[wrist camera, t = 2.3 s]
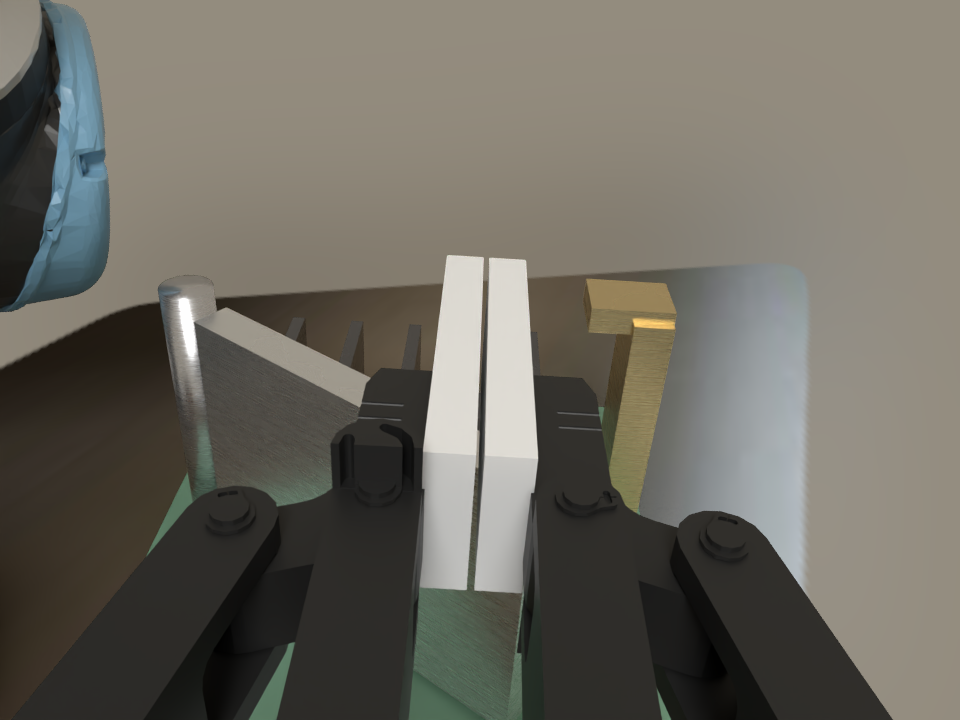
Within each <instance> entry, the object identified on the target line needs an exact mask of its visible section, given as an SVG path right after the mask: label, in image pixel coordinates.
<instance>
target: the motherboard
mask: <svg viewBox="0 0 960 720" xmlns="http://www.w3.org/2000/svg"><path fill="white" fill-rule="evenodd" d="M598 409H599V417H600V420H601V424H602V419H603V413H604V407H598ZM191 503H192V497H191V490H190V484H189V478H188V472H187V474H186V476H185V478H184V480H183V482H182V484H181V486H180V488H179V490H178V492H177V494H176V496H175V498H174V501H173V503H172V505H171V507H170V509H169V511H168V513H167V515H166V517H165V519H164V521H163V523H162V525H161V527H160V529H159V531H158V533H157V535H156V537H155V539H154V541H153V543H152V545H151V548H150V550H149V552H148V554H149V553H150V551H151V550H152V549H153V548H154V547H155V545H156V544H157V543H158V542H159V541H160V539H161V538H162V537H163V536H164V535H165V533H166V532H167V531H168V530H169V528H170V527H171V526H172V525H173V524H174V522H175V521H176V520H177V519H178V518H179V516H180V515H181V514H182V513H183V512H184V510H185V509H186V508H187V507H188V506H189V505H190V504H191ZM637 514H639V515H640V512H639V507H638V510H637ZM148 554H147V555H148ZM294 644H295V642H294V643H289V644H288V647H287V651H286V653H285V655H284V657H283V659H282V661H281V662H280V664H279V666H278V668H277V670H276V671H275V673H274V675H273V677H272V679H271V680H270V682H269V684H268V686H267V688H266V689H265V691H264V693H263V695H262V697H261V698H260V700H259V702H258V704H257V706H256V707H255V709H254V711H253V713H252V715H251V716H250V718H249V720H276V719H277V715H278V711H279V707H280V702H281V698H282V694H283V690H284V686H285V682H286V678H287V673H288V669H289V665H290V661H291V657H292V653H293V649H294ZM657 692H658V689H657ZM658 698H659V704H660V710H661V716H662V720H671V718H670V716H669V714H668V712H667V710H666V707H665V705H664V703H663V701H662V698H661V696H660V694H659V692H658ZM409 720H485V719H484V718H483V717H481V716H480V715H478V714H477V713H475V712H474V711H472V710H471V709H469V708H468V707H467V706H465V705H464V704H462V703H461V702H459V701H458V700H456V699H455V698H453V697H452V696H451V695H449V694H448V693H446V692H445V691H443V690H442V689H440V688H439V687H437V686H436V685H435V684H433V683H432V682H430V681H429V680H427V679H426V678H424V677H423V676H421V675H420V674H419V673H417V672H416V671H414V670H413V678H412V689H411V700H410V711H409ZM516 720H522V712H521V714H520V715H519V716H518V717H517V719H516Z"/></svg>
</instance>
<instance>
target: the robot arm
mask: <svg viewBox="0 0 960 720" xmlns="http://www.w3.org/2000/svg"><path fill="white" fill-rule="evenodd" d="M104 159H105V129H104V119H103V112H102V102H101V95H100V87H99V81H98V74H97V68H96V63H95V57H94V52H93V48H92V44H91V40H90V35H89V32H88V29H87V26H86V23H85V21H84V19H83V17H82V16H81V15H80V14H79V13H78V12H77V11H76V10H75V9H74V8H71V7H69V6H67V5H63V4H57V3H53V2H51V1H50V0H0V312H9V311H10V312H12V311H14V310H18V309H19V308H21V307H23V306H25V305H26V304H30V303H36V302H41V301H47V300H53V299H58V298H64V297H69V296H74V295H77V294H80V293H82V292H84V291H86V290H87V289H89V288H91V287H92V286H93V285H94V284H95V283H96V282H97V281H98V279H99V278H100V277H101V275H102V273H103V271H104V269H105V266H106V263H107V258H108V251H109V239H110V203H109V202H110V199H109V184H108V174H107V169H106V166H105V163H104ZM483 261H484V258H483V257H469V256H453V255H447V261H446V270H445V277H444V285H443V293H442V301H441V309H440V317H439V325H438V333H437V342H436V350H435V358H434V366H433V371H423V370H406V369H390V368H381V369H380V370H379V371H378V372H377V373H376V374H375V375H374V376H373V377H372V378H371V379H370V380H369V381H368V382H367V383H366V385H365V389H364V393H363V398H362V404H361V406H360V410H359V414H358V419H357V422H355V423H352V424H349V425H347V426H346V427H344V428H343V429H341V430H340V431H338V432H337V433H336V435H335V436H334V438H333V440H332V441H331V443H330V448H331V470H332V489H330V490H329V491H327V492H326V493H325V494H323V495H320V496H318V497H316V498H314V499H311V500H307V501H303V502H299V503H294V504H288V505H282V506H277V505H276V502H275V501H274V500H273V499H272V498H271V497H270V496H269V495H268V494H267V493H266V492H264V491H261V490H259V489H256V488H254V487H246V486H230V487H224V488H218V489H215V490H213V491H210V492H208V493H206V494H204V495H201V496H200V497H198V498H197V499H196V500H195V501H194V502H192V503H191V504H190V505H189V506H188V507H187V508H186V509H185V510H184V512H183V513H182V514H181V515H180V516H179V518H178V519H177V520H176V521H175V522H174V524H173V525H172V526H171V527H170V528H169V530H168V531H167V532H166V533H165V535H164V536H163V537H162V538H161V539H160V541H159V542H158V543H157V544H156V545H155V547H154V548H153V549H152V550H151V551H150V553H149V554H148V555H147V556H146V557H145V559H144V560H143V561H142V562H141V564H140V565H139V566H138V567H137V568H136V570H135V571H134V572H133V573H132V574H131V576H130V577H129V578H128V579H127V580H126V582H125V583H124V584H123V585H122V586H121V588H120V589H119V590H118V591H117V593H116V594H115V595H114V596H113V597H112V599H111V600H110V601H109V602H108V603H107V605H106V606H105V607H104V608H103V609H102V611H101V612H100V613H99V614H98V615H97V617H96V618H95V619H94V620H93V622H92V623H91V624H90V625H89V626H88V628H87V629H86V630H85V631H84V632H83V634H82V635H81V636H80V637H79V638H78V640H77V641H76V642H75V643H74V644H73V646H72V647H71V648H70V649H69V651H68V652H67V653H66V654H65V655H64V657H63V658H62V659H61V660H60V661H59V663H58V664H57V665H56V666H55V667H54V669H53V670H52V671H51V672H50V673H49V675H48V676H47V677H46V678H45V680H44V681H43V682H42V683H41V684H40V686H39V687H38V688H37V689H36V690H35V692H34V693H33V694H32V695H31V696H30V698H29V699H28V700H27V701H26V702H25V704H24V705H23V706H22V707H21V709H20V710H19V711H18V712H17V713H16V715H15V716H14V717H13V718H12V719H11V720H249V718H250V716H251V715H252V713H253V711H254V709H255V707H256V706H257V704H258V702H259V700H260V698H261V697H262V695H263V693H264V691H265V689H266V688H267V686H268V684H269V682H270V680H271V679H272V677H273V675H274V673H275V671H276V670H277V668H278V666H279V664H280V662H281V661H282V659H283V657H284V655H285V653H286V651H287V647H288V644H289V643H294V642H295V644H294V649H293V653H292V657H291V661H290V665H289V669H288V673H287V678H286V682H285V686H284V690H283V694H282V698H281V702H280V707H279V711H278V715H277V719H276V720H409V711H410V700H411V689H412V678H413V667H414V656H415V645H416V635H417V624H418V608H419V587H420V588H438V589H456V590H467V577H468V563H469V549H470V535H471V521H472V507H473V493H474V479H475V465H476V448H477V421H478V395H479V368H480V341H481V314H482V288H483ZM522 587H524V598H523V606H522V614H521V623H520V631H519V639H518V647H517V653H521V666H522V720H662V716H661V710H660V704H659V698H658V692H659V694H660V696H661V698H662V701H663V703H664V705H665V707H666V710H667V712H668V714H669V716H670V718H671V720H893V719H892V718H891V717H890V715H889V714H888V712H887V711H886V709H885V708H884V706H883V705H882V704H881V702H880V701H879V699H878V698H877V696H876V695H875V693H874V692H873V691H872V689H871V688H870V686H869V685H868V683H867V682H866V680H865V679H864V678H863V676H862V675H861V673H860V672H859V671H858V669H857V668H856V666H855V665H854V663H853V662H852V660H851V659H850V658H849V656H848V655H847V653H846V652H845V650H844V649H843V647H842V646H841V645H840V643H839V642H838V640H837V639H836V637H835V636H834V634H833V633H832V632H831V630H830V629H829V627H828V626H827V624H826V623H825V621H824V620H823V619H822V617H821V616H820V614H819V613H818V611H817V610H816V609H815V607H814V606H813V604H812V603H811V601H810V600H809V598H808V597H807V596H806V594H805V593H804V591H803V590H802V588H801V587H800V585H799V584H798V583H797V581H796V580H795V578H794V577H793V575H792V574H791V573H790V571H789V570H788V568H787V567H786V565H785V564H784V562H783V561H782V560H781V558H780V557H779V555H778V554H777V552H776V551H775V549H774V548H773V547H772V545H771V544H770V542H769V541H768V539H767V538H766V537H765V536H764V535H763V534H762V533H761V532H760V531H759V530H758V529H757V528H756V527H755V526H754V525H752V524H751V523H749V522H747V521H745V520H744V519H742V518H740V517H738V516H735V515H731V514H728V513H724V512H721V511H702V512H698V513H695V514H691V515H689V516H688V517H686V518H685V519H684V520H683V521H682V522H681V523H680V524H679V528H677V527H673V526H670V525H666V524H663V523H660V522H656V521H653V520H651V519H648V518H646V517H643V516H641V515H639V514H637V513H636V512H634V511H632V510H631V509H629V508H628V507H627V506H626V505H625V503H624V501H623V499H622V497H621V495H620V492H618V491H617V490H616V489H615V488H614V487H613V486H612V484H611V478H610V472H609V467H608V461H607V455H606V449H605V443H604V438H603V432H602V426H601V420H600V417H599V409H598V403H597V397H596V394H595V393H594V392H593V391H592V389H591V388H590V387H589V386H588V385H587V383H586V382H585V381H584V380H583V379H582V378H571V377H554V376H538V375H533V367H532V351H531V335H530V319H529V303H528V287H527V271H526V260H517V259H500V258H489V272H488V286H487V300H486V314H485V328H484V342H483V356H482V372H481V402H480V432H479V462H478V492H477V522H476V552H475V582H474V591H491V592H509V593H522ZM657 689H658V692H657Z"/></svg>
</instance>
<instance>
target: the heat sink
mask: <svg viewBox="0 0 960 720" xmlns="http://www.w3.org/2000/svg"><path fill="white" fill-rule="evenodd" d="M158 293H159V299H160V306H161V312H162V318H163V324H164V330H165V337H166V343H167V349H168V355H169V361H170V367H171V374H172V380H173V386H174V392H175V398H176V404H177V410H178V417H179V423H180V429H181V435H182V441H183V447H184V454H185V460H186V466H187V472H188V478H189V484H190V490H191V497H192V502H194V501H195V500H196V499H197V498H198V497H200V496H201V495H204V494H206V493H208V492H210V491H213V490H215V489H217V483H216V476H215V469H214V461H213V454H212V447H211V440H210V433H209V426H208V419H207V411H206V404H205V397H204V390H203V383H202V376H201V369H200V361H199V354H198V347H197V340H196V333H195V326H194V322H195V321H197V320H199V319H202V318H204V317H206V316H208V315H211V314H213V313H215V312H217V309H216V301H215V294H214V285H213V282H212V281H211V280H210V279H208V278H205V277H202V276H196V275H184V276H178V277H174V278H171V279H168V280H166V281H164V282H163V283H161V284H160V285H159V287H158ZM583 304H584V310H585V315H586V321H587V327H588V332H595V333H612V334H617V336H616V342H615V348H614V353H613V359H612V365H611V371H610V377H609V383H608V389H607V395H606V401H605V407H604V413H603V419H602V424H601V426H602V432H603V438H604V443H605V449H606V455H607V461H608V467H609V472H610V478H611V484H612V486H613V487H614V488H615V489H616V490H617V491H618V492H620V495H621V497H622V499H623V501H624V503H625V505H626V506H627V507H628V508H629V509H631V510H632V511H634V512H636V513H637V510H638V505H639V501H640V496H641V491H642V487H643V482H644V477H645V472H646V468H647V463H648V458H649V453H650V449H651V444H652V439H653V435H654V430H655V425H656V420H657V416H658V411H659V406H660V401H661V397H662V392H663V387H664V383H665V378H666V373H667V368H668V364H669V359H670V354H671V349H672V345H673V340H674V335H675V331H676V329H675V326H674V324H675V320H676V315H677V313H676V310H675V308H674V305H673V302H672V299H671V297H670V294H669V291H668V289H667V286H666V284H662V283H646V282H630V281H614V280H598V279H586V284H585V291H584V298H583ZM530 335H531V351H532V367H533V375H538V376H540V365H539V351H538V338H537V332H530ZM286 337H288V338H290V339H292V340H294V341H296V342H298V343H300V344H302V345H304V346H306V347H307V343H306V326H305V318H297V317H293V319H292V322H291V324H290V326H289V329H288V331H287V333H286ZM420 355H421V325H411V324H410V325H409V331H408V336H407V342H406V347H405V353H404V358H403V363H402V369H406V370H420ZM339 363H341V364H343V365H345V366H347V367H349V368H351V369H354V370H356V371H358V372H360V373H362V374H364V340H363V322H362V321H351V324H350V328H349V331H348V334H347V338H346V341H345V344H344V347H343V351H342V354H341V357H340V361H339ZM480 402H481V393H479V395H478V421H477V430H478V431H480Z"/></svg>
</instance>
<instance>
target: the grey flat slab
mask: <svg viewBox="0 0 960 720" xmlns="http://www.w3.org/2000/svg"><path fill="white" fill-rule="evenodd" d="M194 326H195V333H196V340H197V347H198V354H199V361H200V369H201V376H202V383H203V390H204V397H205V404H206V411H207V419H208V426H209V433H210V440H211V447H212V454H213V461H214V469H215V476H216V483H217V489H218V488H224V487H230V486H246V487H254V488H256V489H259V490H261V491H264V492H266V493H267V494H268V495H269V496H270V497H271V498H272V499H273V500H274V501H275V502H276V505H277V506H282V505H288V504H294V503H299V502H303V501H307V500H311V499H314V498H316V497H318V496H320V495H323V494H325V493H326V492H327V491H329V490H330V489H332V470H331V448H330V443H331V441H332V440H333V438H334V436H335V435H336V433H337V432H338V431H340V430H341V429H343V428H344V427H346V426H347V425H349V424H352V423H355V422H357V419H358V414H359V410H360V406H361V404H362V398H363V393H364V389H365V385H366V383H367V382H368V381H369V380H370V379H371V378H370V377H368V376H366V375H364V374H362V373H360V372H358V371H356V370H354V369H351V368H349V367H347V366H345V365H343V364H341V363H339V362H337V361H335V360H333V359H331V358H329V357H327V356H325V355H323V354H321V353H319V352H317V351H315V350H313V349H311V348H309V347H306V346H304V345H302V344H300V343H298V342H296V341H294V340H292V339H290V338H288V337H286V336H284V335H282V334H280V333H278V332H276V331H274V330H272V329H270V328H268V327H266V326H264V325H261V324H259V323H257V322H255V321H253V320H251V319H249V318H247V317H245V316H243V315H241V314H239V313H237V312H235V311H233V310H231V309H229V308H227V307H226V308H224V309H222V310H220V311H217V312H215V313H213V314H211V315H208V316H206V317H204V318H202V319H199V320H197V321H195V322H194ZM479 432H480V431H478V430H477V448H476V465H475V479H474V493H473V507H472V521H471V535H470V549H469V563H468V577H467V590H456V589H438V588H420V587H419V608H418V624H417V635H416V645H415V656H414V667H413V670H414V671H416V672H417V673H419V674H420V675H421V676H423V677H424V678H426V679H427V680H429V681H430V682H432V683H433V684H435V685H436V686H437V687H439V688H440V689H442V690H443V691H445V692H446V693H448V694H449V695H451V696H452V697H453V698H455V699H456V700H458V701H459V702H461V703H462V704H464V705H465V706H467V707H468V708H469V709H471V710H472V711H474V712H475V713H477V714H478V715H480V716H481V717H483V718H484V719H485V720H516V719H517V717H518V716H519V715H520V714H521V712H522V666H521V653H517V647H518V639H519V631H520V623H521V614H522V606H523V598H524V587H522V593H509V592H491V591H474V582H475V552H476V522H477V492H478V462H479Z"/></svg>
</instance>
